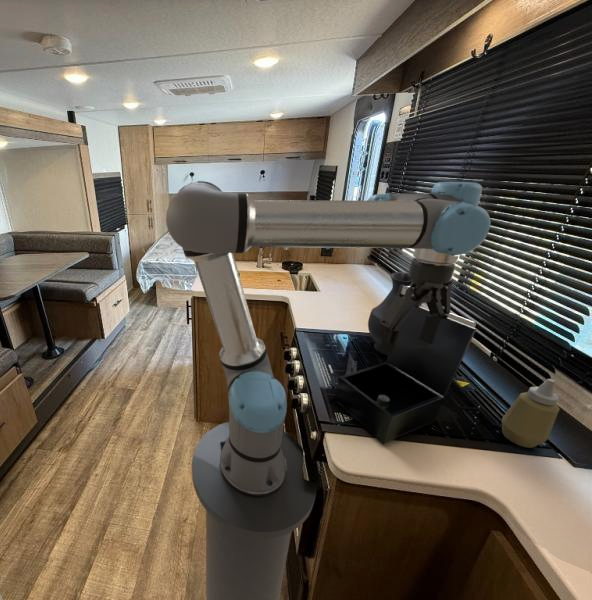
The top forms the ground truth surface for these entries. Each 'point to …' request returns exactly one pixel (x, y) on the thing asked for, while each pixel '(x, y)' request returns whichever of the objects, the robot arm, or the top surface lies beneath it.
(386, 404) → the beer can
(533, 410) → the squeeze bottle
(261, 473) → the robot arm
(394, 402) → the compartment
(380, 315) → the pitcher
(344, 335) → the top surface
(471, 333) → the compartment lid
